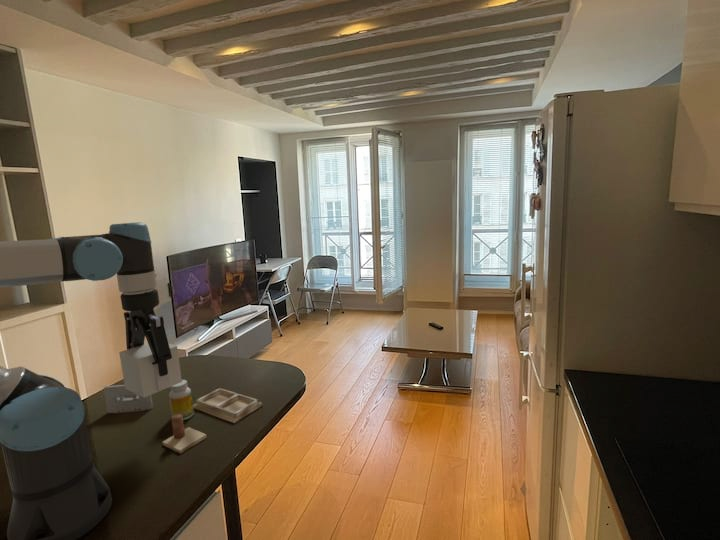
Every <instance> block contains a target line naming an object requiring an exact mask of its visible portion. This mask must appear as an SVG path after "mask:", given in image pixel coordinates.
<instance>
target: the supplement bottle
mask: <svg viewBox="0 0 720 540" xmlns="http://www.w3.org/2000/svg"><path fill="white" fill-rule="evenodd" d="M170 390H171V391H170V392H169V394H168V399H169V405H170V411H171V412H170V413H171V417H172V416H174V415H177V414H181V415H182V418H183V421H185V420H189V419H190V418H192V417H193V415H194V414H195V411H194V410H195V409H194V408H193V405H194V403H193V397H192V389H191V388H190V387H188V380H187V379H182V382H180V383H178V384H176V385H173V386H171V387H170Z"/></svg>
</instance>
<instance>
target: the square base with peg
mask: <svg viewBox="0 0 720 540" xmlns="http://www.w3.org/2000/svg"><path fill="white" fill-rule="evenodd" d="M171 426H172V432H173V435H172V436H170V437H168V438H167V439H165V440H163V441H162V442H161V443H162V446H164V447H165V448H168V449H170V450H172V451H174V452H176V453H178V454H182V453H184V452H186V451H187V450H189V449H190V448H192V447H194V446H196V445H198V444H199V443H200V442H201V441H203V440H206V438H208V437H207V434H206V433H204V432H202V431H199V430H196V429H194V428H192V427H190V426H188V427H186V428H185V427H184V426H185V424H184V420H183V418H182V415H181V414H177V415H174V416H172V415H171Z"/></svg>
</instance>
